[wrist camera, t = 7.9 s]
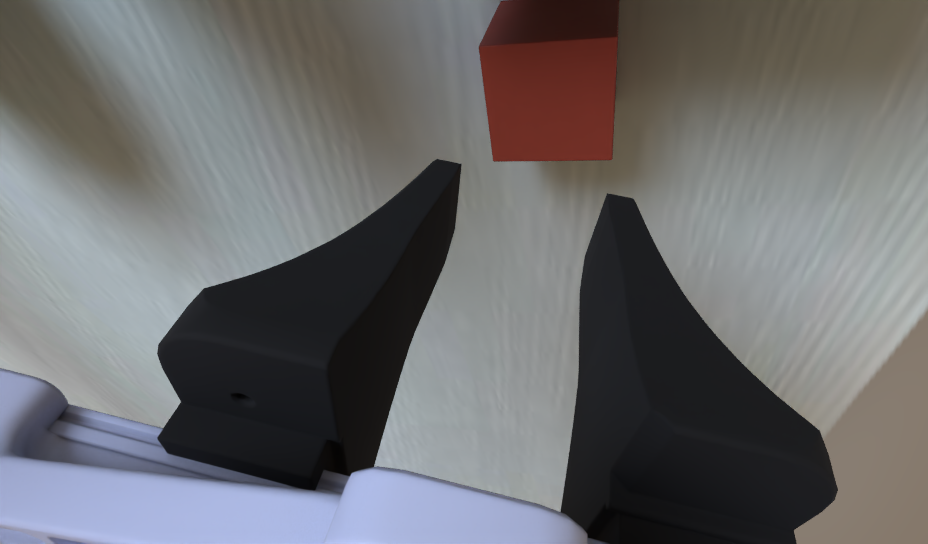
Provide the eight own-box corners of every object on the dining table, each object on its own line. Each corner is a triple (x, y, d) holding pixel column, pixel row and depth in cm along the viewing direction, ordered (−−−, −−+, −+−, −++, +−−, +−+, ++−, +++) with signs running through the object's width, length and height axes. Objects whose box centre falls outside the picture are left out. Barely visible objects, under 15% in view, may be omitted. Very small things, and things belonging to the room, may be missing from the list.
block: (614, 103, 20) (612, 160, 18) (510, 107, 21) (493, 162, 19) (619, -10, 18) (618, 36, 15) (500, 0, 19) (478, 46, 16)
